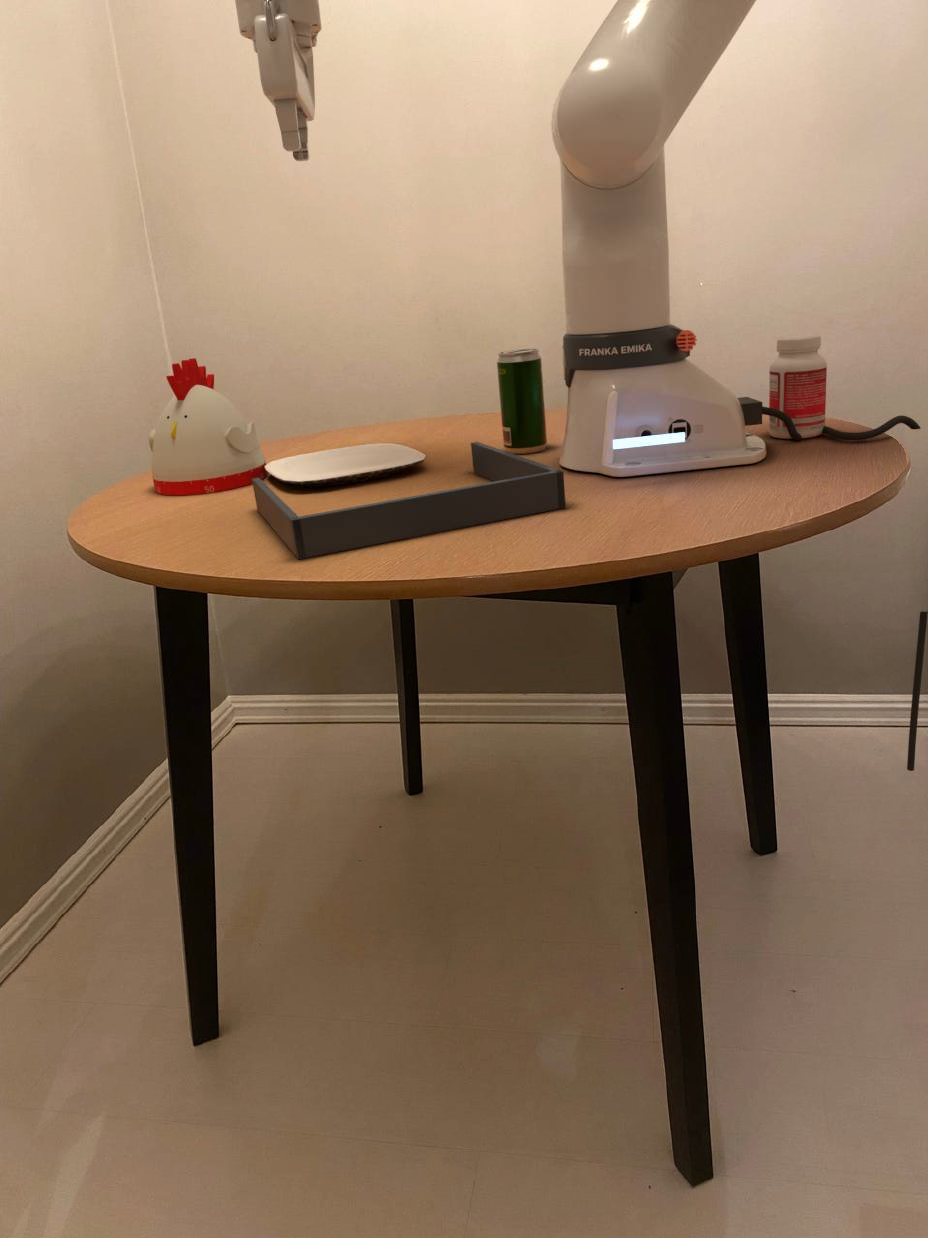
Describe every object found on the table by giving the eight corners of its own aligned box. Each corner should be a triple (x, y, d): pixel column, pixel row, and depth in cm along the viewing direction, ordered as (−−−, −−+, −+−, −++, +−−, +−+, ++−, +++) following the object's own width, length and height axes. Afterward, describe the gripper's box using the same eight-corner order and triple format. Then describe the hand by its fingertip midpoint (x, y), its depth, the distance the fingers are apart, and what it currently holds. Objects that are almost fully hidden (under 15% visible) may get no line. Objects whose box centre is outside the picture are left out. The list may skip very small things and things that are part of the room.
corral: (257, 511, 100) (251, 478, 99) (479, 472, 107) (477, 441, 106) (298, 559, 80) (291, 519, 79) (565, 507, 88) (563, 470, 87)
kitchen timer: (131, 495, 114) (103, 369, 109) (198, 470, 126) (175, 356, 121) (227, 494, 110) (203, 362, 104) (287, 468, 121) (268, 349, 116)
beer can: (521, 456, 114) (513, 354, 110) (495, 451, 118) (487, 353, 114) (556, 448, 116) (549, 348, 112) (529, 444, 121) (522, 348, 117)
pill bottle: (835, 432, 109) (839, 333, 105) (803, 441, 106) (805, 340, 102) (790, 428, 114) (792, 333, 110) (757, 437, 110) (758, 340, 107)
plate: (257, 474, 120) (255, 461, 119) (391, 451, 126) (389, 438, 125) (290, 498, 104) (288, 483, 103) (441, 471, 110) (439, 457, 109)
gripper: (297, -17, 91) (317, 141, 96) (316, 33, 111) (332, 162, 115) (232, -12, 91) (255, 146, 96) (262, 37, 110) (280, 167, 115)
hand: (297, 155), depth 106 cm, fingers open, 8 cm apart
